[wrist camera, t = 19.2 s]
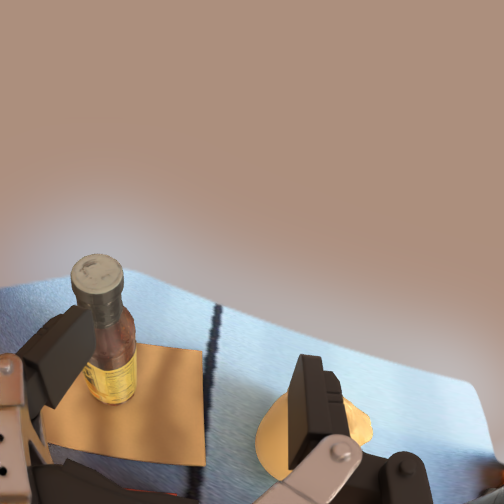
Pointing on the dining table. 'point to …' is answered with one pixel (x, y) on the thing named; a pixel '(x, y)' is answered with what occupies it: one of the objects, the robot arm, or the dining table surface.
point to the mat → (139, 413)
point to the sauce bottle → (107, 329)
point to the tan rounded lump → (276, 435)
